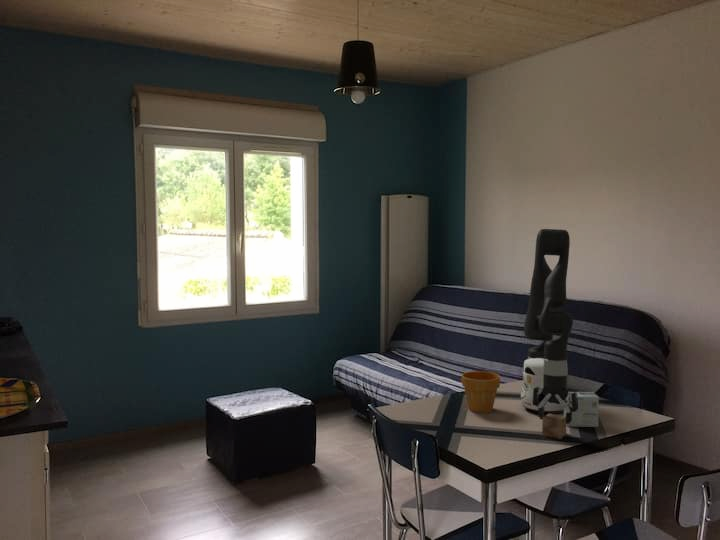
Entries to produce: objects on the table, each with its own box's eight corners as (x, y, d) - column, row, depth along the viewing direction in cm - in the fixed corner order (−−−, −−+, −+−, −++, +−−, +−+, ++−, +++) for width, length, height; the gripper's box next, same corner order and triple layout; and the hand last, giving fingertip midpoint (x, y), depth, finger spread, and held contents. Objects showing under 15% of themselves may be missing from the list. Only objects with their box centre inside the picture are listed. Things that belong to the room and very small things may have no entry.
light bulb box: (593, 421, 216) (594, 391, 215) (599, 427, 209) (599, 396, 208) (562, 420, 217) (562, 390, 216) (566, 426, 210) (567, 396, 209)
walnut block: (542, 435, 202) (542, 418, 201) (548, 430, 206) (548, 413, 206) (560, 439, 198) (560, 421, 198) (566, 434, 203) (566, 416, 203)
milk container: (511, 405, 236) (512, 359, 234) (549, 401, 241) (550, 356, 240) (538, 418, 219) (539, 369, 218) (578, 413, 225) (579, 365, 224)
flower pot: (507, 410, 229) (508, 376, 229) (481, 417, 221) (481, 382, 221) (480, 401, 241) (480, 369, 240) (453, 408, 233) (453, 374, 232)
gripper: (530, 371, 202) (529, 420, 203) (574, 377, 194) (573, 427, 194) (537, 367, 208) (537, 414, 209) (580, 372, 200) (580, 421, 201)
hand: (554, 421), depth 202 cm, fingers open, 8 cm apart
